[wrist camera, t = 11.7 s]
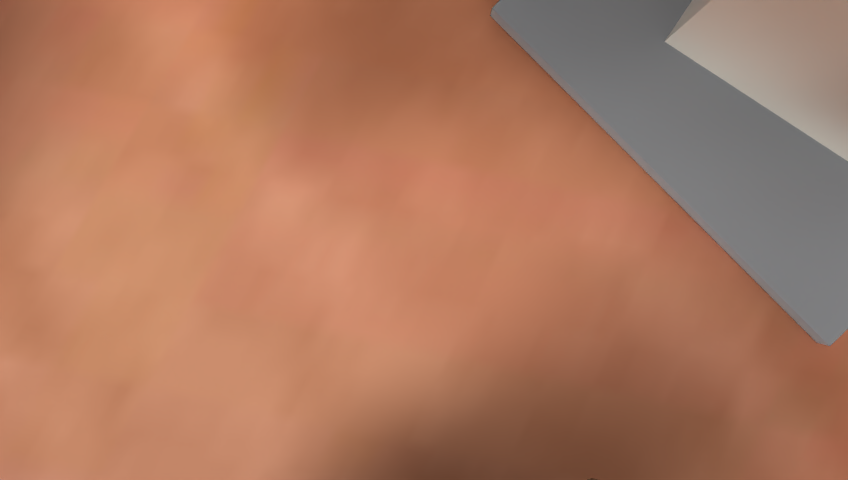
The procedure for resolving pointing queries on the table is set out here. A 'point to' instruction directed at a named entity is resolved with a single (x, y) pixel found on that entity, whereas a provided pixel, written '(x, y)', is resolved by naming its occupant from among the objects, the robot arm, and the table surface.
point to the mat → (703, 146)
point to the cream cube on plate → (777, 58)
